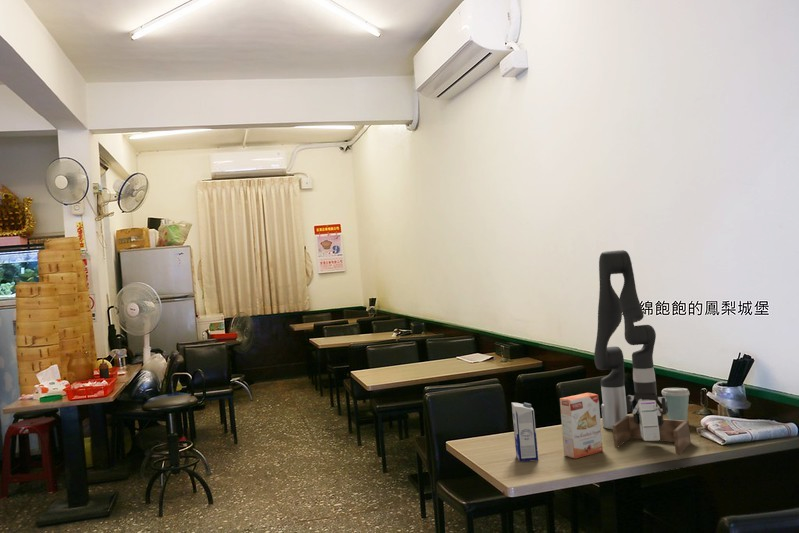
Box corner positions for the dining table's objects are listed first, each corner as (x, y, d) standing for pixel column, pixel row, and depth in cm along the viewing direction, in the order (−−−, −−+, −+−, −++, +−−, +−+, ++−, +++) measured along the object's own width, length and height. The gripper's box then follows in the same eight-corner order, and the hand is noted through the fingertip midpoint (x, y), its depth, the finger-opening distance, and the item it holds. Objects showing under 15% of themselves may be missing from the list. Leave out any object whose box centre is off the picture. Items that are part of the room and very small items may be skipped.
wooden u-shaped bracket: (614, 446, 215) (612, 425, 216) (628, 436, 227) (626, 415, 227) (679, 454, 201) (677, 431, 201) (690, 442, 213) (688, 420, 213)
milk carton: (516, 456, 214) (511, 401, 215) (534, 454, 214) (529, 400, 215) (519, 461, 207) (514, 405, 208) (538, 460, 207) (533, 404, 208)
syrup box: (660, 440, 209) (656, 400, 209) (643, 441, 210) (639, 400, 211) (657, 436, 215) (653, 396, 215) (640, 436, 216) (636, 397, 216)
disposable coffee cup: (660, 422, 243) (657, 386, 244) (687, 421, 242) (684, 384, 242) (668, 428, 233) (665, 391, 233) (697, 427, 231) (693, 389, 232)
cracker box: (575, 459, 205) (570, 400, 205) (563, 456, 210) (558, 397, 211) (604, 451, 211) (599, 393, 212) (592, 448, 216) (586, 391, 217)
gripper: (667, 378, 211) (672, 424, 211) (627, 377, 220) (632, 420, 220) (662, 382, 206) (666, 429, 205) (621, 380, 215) (625, 425, 214)
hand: (648, 424), depth 212 cm, fingers closed on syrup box, 7 cm apart
